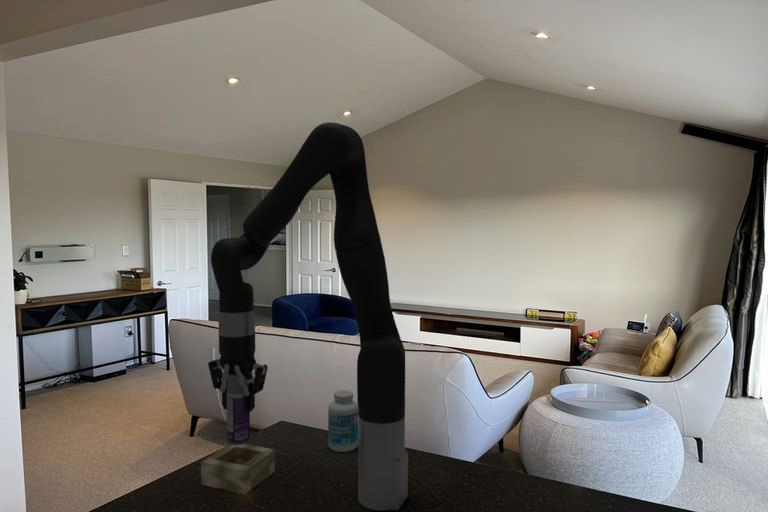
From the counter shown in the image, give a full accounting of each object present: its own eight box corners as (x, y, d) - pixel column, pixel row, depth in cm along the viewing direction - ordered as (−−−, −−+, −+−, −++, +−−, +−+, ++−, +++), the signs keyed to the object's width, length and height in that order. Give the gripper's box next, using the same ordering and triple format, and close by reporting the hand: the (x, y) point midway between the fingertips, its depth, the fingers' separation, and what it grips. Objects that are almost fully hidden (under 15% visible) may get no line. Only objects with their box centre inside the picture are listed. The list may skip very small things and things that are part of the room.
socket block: (274, 471, 121) (274, 449, 121) (245, 494, 111) (244, 470, 111) (233, 463, 125) (233, 441, 125) (201, 484, 115) (200, 461, 115)
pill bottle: (323, 451, 132) (323, 396, 131) (334, 439, 139) (334, 387, 138) (352, 455, 130) (352, 399, 129) (362, 442, 137) (362, 390, 136)
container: (253, 437, 120) (252, 369, 119) (245, 445, 115) (244, 375, 114) (232, 436, 120) (231, 369, 119) (224, 444, 115) (222, 375, 114)
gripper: (275, 330, 117) (276, 408, 118) (220, 325, 122) (222, 400, 123) (255, 337, 110) (256, 420, 111) (197, 332, 115) (199, 411, 116)
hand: (238, 409), depth 117 cm, fingers closed on container, 4 cm apart
